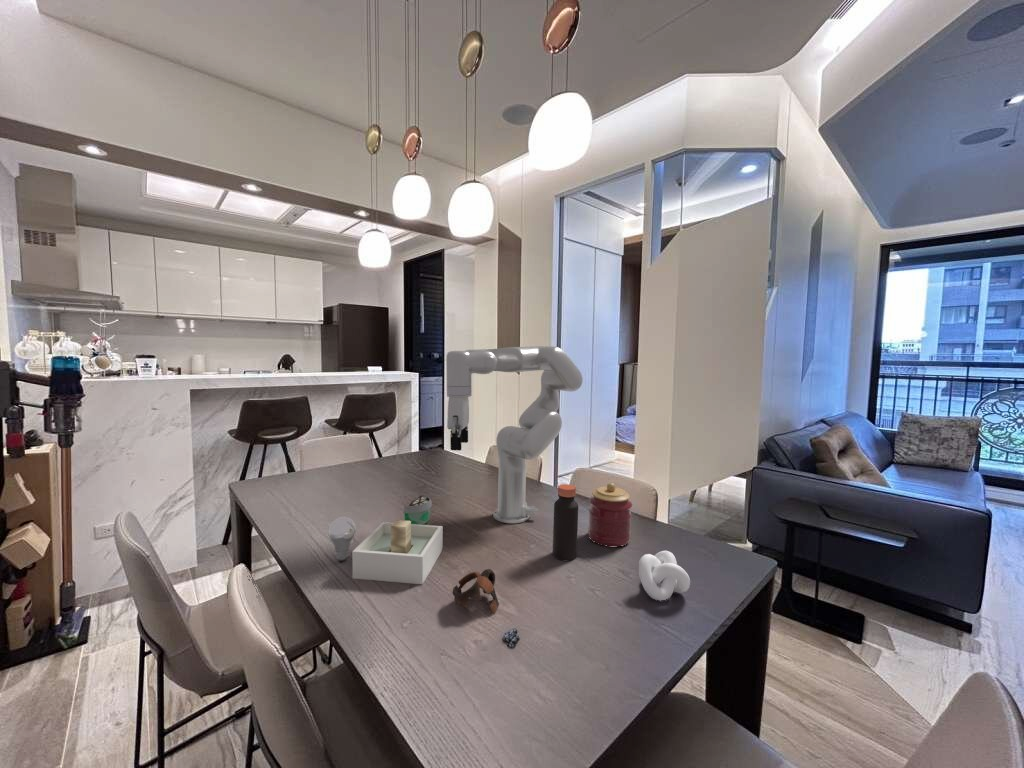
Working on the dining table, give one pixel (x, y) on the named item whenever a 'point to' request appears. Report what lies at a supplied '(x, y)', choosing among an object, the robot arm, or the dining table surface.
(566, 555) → the bottle
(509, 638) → the blueberries
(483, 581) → the brown looped sculpture
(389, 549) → the bore plate
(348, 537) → the light bulb
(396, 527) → the maple peg
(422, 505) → the food container
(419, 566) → the open box
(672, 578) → the white knot sculpture
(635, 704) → the dining table surface
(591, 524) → the canister
